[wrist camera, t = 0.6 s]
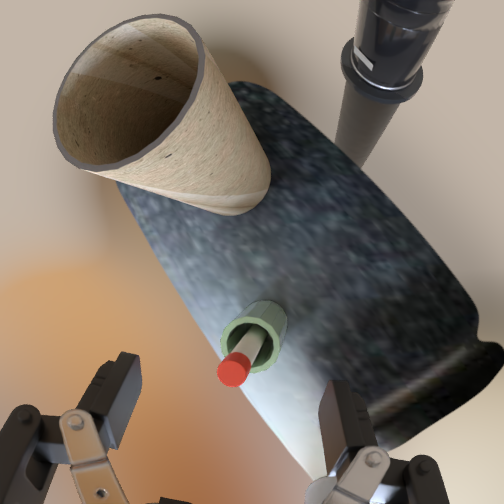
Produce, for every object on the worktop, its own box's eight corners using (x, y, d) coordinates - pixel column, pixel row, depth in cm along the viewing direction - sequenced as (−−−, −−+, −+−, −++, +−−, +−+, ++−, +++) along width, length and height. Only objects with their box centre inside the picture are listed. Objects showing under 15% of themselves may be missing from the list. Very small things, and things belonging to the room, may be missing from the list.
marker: (260, 311, 38) (226, 354, 22) (276, 321, 37) (251, 371, 22) (251, 326, 38) (211, 376, 22) (266, 335, 38) (236, 392, 22)
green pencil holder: (256, 290, 38) (239, 304, 29) (296, 316, 38) (292, 338, 28) (233, 328, 39) (209, 351, 30) (271, 353, 38) (259, 383, 29)
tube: (265, 220, 38) (183, 176, 14) (187, 211, 40) (37, 171, 15) (276, 140, 38) (222, 4, 13) (199, 135, 39) (81, 30, 15)
